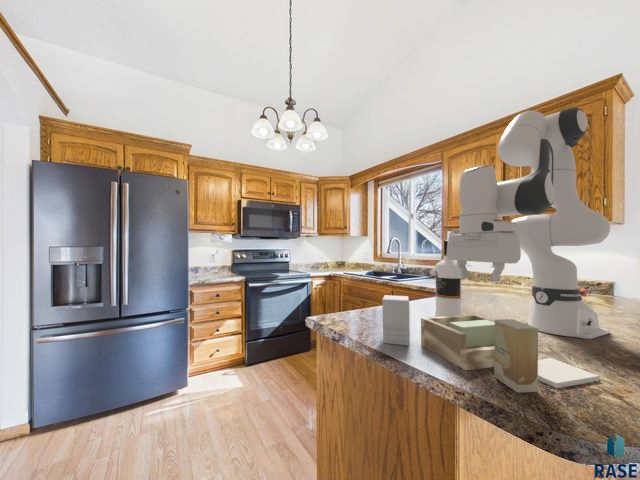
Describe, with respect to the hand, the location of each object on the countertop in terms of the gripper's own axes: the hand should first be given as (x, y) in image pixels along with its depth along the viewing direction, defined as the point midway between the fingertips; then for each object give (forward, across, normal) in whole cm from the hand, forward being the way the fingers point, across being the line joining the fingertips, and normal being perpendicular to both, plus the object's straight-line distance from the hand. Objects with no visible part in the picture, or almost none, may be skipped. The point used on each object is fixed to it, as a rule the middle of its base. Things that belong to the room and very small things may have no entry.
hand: (478, 279), depth 70 cm
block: (+16, 0, -2) cm, 17 cm away
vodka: (+19, -21, +8) cm, 30 cm away
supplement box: (+19, -13, -17) cm, 29 cm away
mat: (+19, +14, +5) cm, 24 cm away
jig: (+19, 0, -3) cm, 19 cm away
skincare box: (+19, +16, -7) cm, 26 cm away
